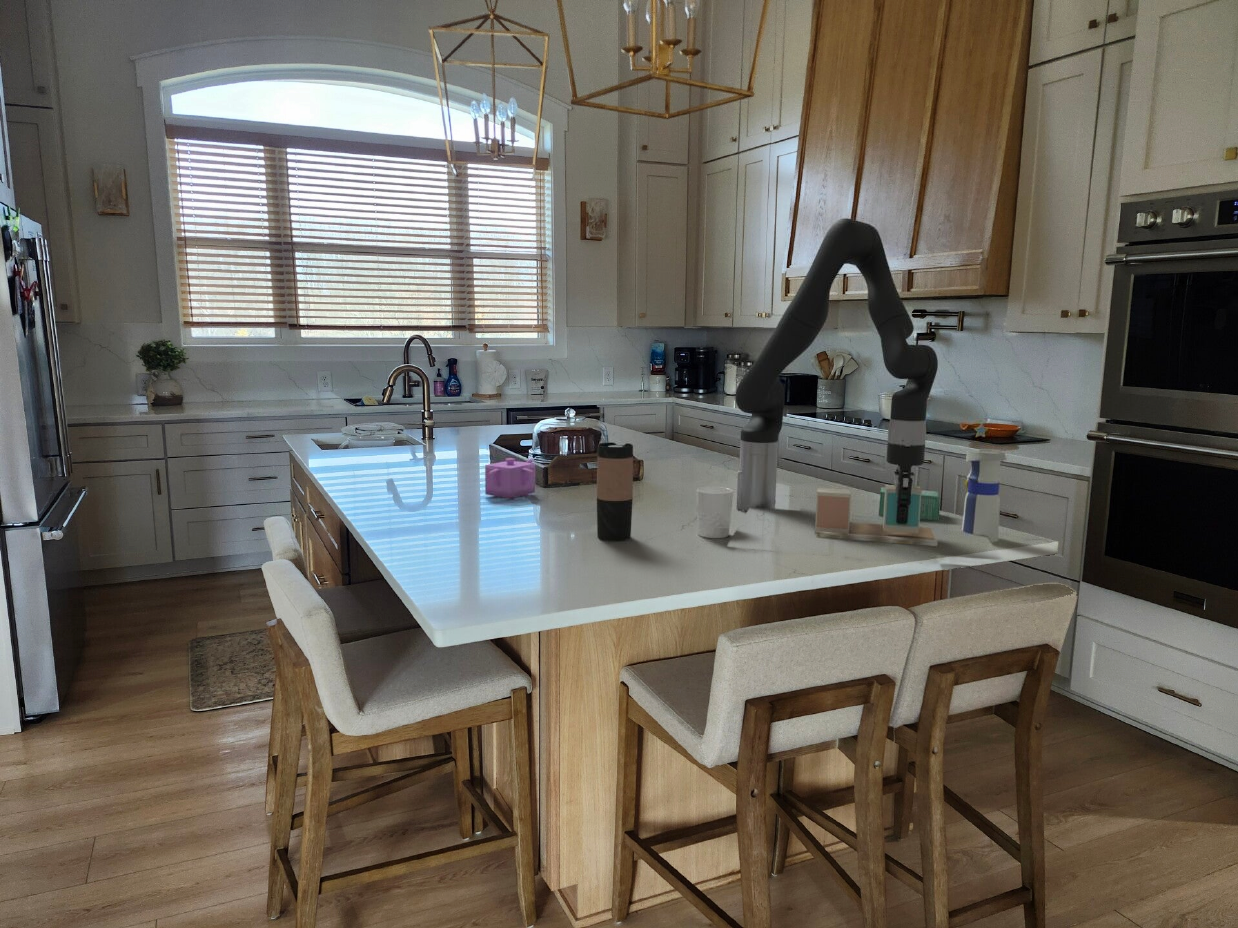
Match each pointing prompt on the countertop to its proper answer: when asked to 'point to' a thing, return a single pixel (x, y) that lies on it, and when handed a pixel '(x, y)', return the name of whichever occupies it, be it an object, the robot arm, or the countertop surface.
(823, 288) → the robot arm
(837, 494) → the faced carton
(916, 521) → the carton
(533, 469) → the teapot
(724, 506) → the white cup
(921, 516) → the box
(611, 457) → the travel mug
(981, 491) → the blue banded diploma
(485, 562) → the countertop surface
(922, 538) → the board
